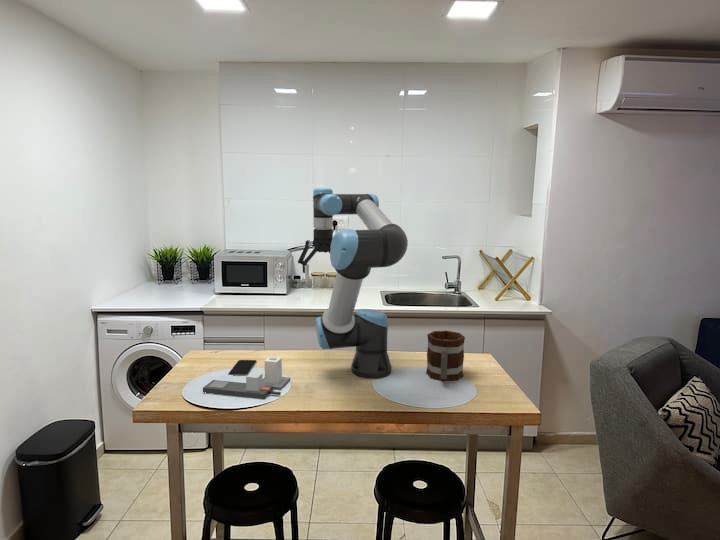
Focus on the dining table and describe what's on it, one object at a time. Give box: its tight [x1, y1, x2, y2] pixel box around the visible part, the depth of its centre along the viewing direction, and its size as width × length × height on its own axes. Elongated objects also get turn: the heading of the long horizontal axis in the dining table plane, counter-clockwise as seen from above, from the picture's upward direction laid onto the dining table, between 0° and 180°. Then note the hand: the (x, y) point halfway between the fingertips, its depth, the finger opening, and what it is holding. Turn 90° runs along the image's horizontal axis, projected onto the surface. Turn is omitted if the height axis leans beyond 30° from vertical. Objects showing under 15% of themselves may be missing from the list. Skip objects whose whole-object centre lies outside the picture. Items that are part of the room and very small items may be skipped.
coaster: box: [262, 376, 291, 391], centre depth 174 cm, size 9×9×1 cm
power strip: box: [202, 379, 282, 400], centre depth 167 cm, size 26×7×2 cm, turn 78°
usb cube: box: [245, 371, 264, 391], centre depth 166 cm, size 4×4×4 cm
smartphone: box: [227, 359, 257, 377], centre depth 189 cm, size 7×1×15 cm
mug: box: [425, 330, 466, 383], centre depth 180 cm, size 20×14×15 cm
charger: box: [263, 356, 283, 384], centre depth 173 cm, size 4×4×8 cm
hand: (323, 282), depth 197 cm, fingers open, 13 cm apart
